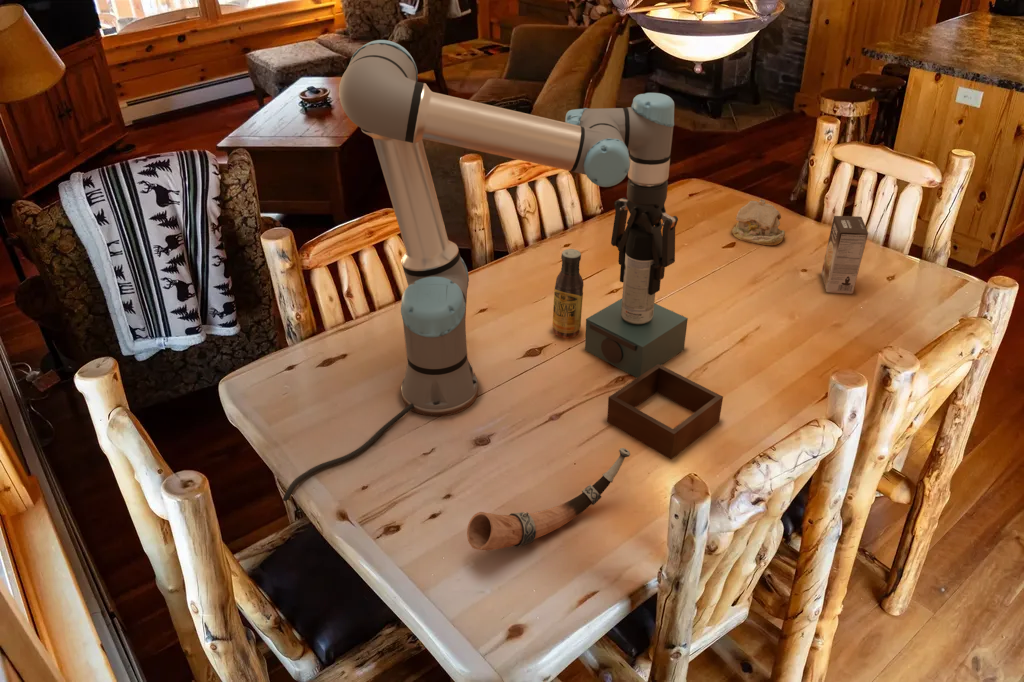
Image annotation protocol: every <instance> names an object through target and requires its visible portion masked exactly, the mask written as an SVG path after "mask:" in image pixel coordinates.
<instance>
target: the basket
mask: <svg viewBox="0 0 1024 682" xmlns="http://www.w3.org/2000/svg"><path fill="white" fill-rule="evenodd" d="M656 393H657V394H659V395H661V396H663V397H665V398H667V399H669V400H670V401H673V402H675V403H676V404H678V405H680V406H682V407H684V408H686V409H688V410H689V411H691V412H693V413H692V414H691V415H689V416H688V417H687V418H686V419H684V420H683V421H681V423H678V424H677V425H676V426H675V427H673V428H672V427H670V426H669V425H667V424H665V423H664V422H661V421H660V420H658V419H656V418H654V417H653V416H651V415H648V413H646V412H644V411H642V410H640V409H638V408H636V407H638V406H639V405H640V404H642V403H643V402H644V401H646V400H647V399H649V398H650V397H652V396H653V395H655V394H656ZM723 400H724V396H722V395H721V394H719V393H717V392H715V391H714V390H711V389H709V388H707V387H705V386H703V385H701V384H699V383H697V382H695V381H693V380H691V379H689V378H687V377H685V376H683V375H681V374H679V373H678V372H676V371H674V370H671V369H670V368H667V367H666V366H664V365H663V364H662V365H660V364H657V365H656V366H654V367H653V368H651V369H650V370H648V371H647V372H645V373H644V374H642V375H641V376H639V377H638V378H636V377H635V379H633V380H632V381H630V382H629V383H627V384H626V385H624V386H623V387H621V388H620V389H618V390H617V391H615V392H614V393H612V394H610V395H609V396H608V400H607V403H608V404H607V413H606V415H607V417H606V422H607V423H608V424H610V425H611V426H614V427H615V428H617V429H618V430H620V431H622V432H624V433H625V434H627V435H629V436H630V437H632V438H633V439H636V440H637V441H639V442H640V443H642V444H644V445H645V446H647V447H649V448H651V449H652V450H654V451H656V452H657V453H659V454H661V455H662V456H664V457H666V458H668V459H669V460H672V459H674V458H675V457H677V455H680V453H682V452H683V451H684V450H686V449H687V448H688V447H690V445H692V444H693V443H694V442H696V441H697V440H698V439H699V438H700V437H702V436H703V435H704V434H705V433H707V432H708V431H710V430H711V429H712V428H713V427H715V426H716V425H717V424H718V423H719V422H720V419H721V412H722V406H723Z"/></svg>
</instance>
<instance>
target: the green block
mask: <svg viewBox="0 0 1024 682" xmlns="http://www.w3.org/2000/svg"><path fill="white" fill-rule="evenodd" d="M621 308H622V298H620V299H618V300H617V301H615V302H612V303H611V304H609V305H608V306H605V307H604V308H602V309H600V310H599V311H597V312H595V313H593V314H591V315H590V316H589V317H586V318H585V339H584V351H586V352H587V353H589V354H591V355H593V356H594V357H597V358H599V359H601V360H602V361H604V362H605V363H608V364H610V365H612V366H614V367H615V368H617V369H620V370H621V371H622V372H625V373H627V374H629V375H631V376H632V377H634V378H635V379H636V378H638V377H639V376H641V375H642V374H644V373H645V372H647V371H648V370H650V369H651V368H653V367H654V366H656V365H657V364H660V365H662V366H663V364H665V363H667V362H668V361H669V360H671V359H672V358H674V357H676V356H677V355H678V354H680V353H682V352H684V350H685V344H686V338H687V337H686V335H687V328H688V321H689V318H688V317H686V316H684V315H681V314H679V313H677V312H675V311H673V310H670V309H668V308H666V307H664V306H662V305H660V304H657V303H655V302H654V312H653V317H652V320H651V321H649V322H647V323H644V324H632V323H628V322H626V321H625V320H623V318H622V316H621Z"/></svg>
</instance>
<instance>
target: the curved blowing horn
mask: <svg viewBox="0 0 1024 682" xmlns="http://www.w3.org/2000/svg"><path fill="white" fill-rule="evenodd" d="M618 452H619V456H618V458H617V459H616V460H615V462H614V463H613V464H612V465H611V466H610V468H609V469H608V470H607V471H606V472H604V473H602V476H601V477H600V478H599V479H598V480H596V482H595V483H593V484H588V486H586V487H585V488H584V489H583V490H581V493H579V494H578V495H577V496H575V497H573V498H572V499H570V500H568V501H566V502H563V503H561V504H558V505H556V506H554V507H551V508H548V509H544V510H541V511H536V512H531V513H529V512H526V511H525V512H524V511H521V512H511V513H510V514H496V513H490V512H485V511H479V512H476V513H475V514H474V515H473V516H472V517H471V518H470V520H469V522H468V525H467V528H466V529H467V530H466V536H467V541H468V544H469V546H470V547H471V548H472V549H474V550H477V551H493V550H499V549H504V548H509V547H516V548H517V547H518V548H519V547H522V546H525V545H528V544H531V543H532V542H534V541H535V540H536V539H538V538H540V537H543V536H545V535H547V534H550V533H552V532H554V531H555V530H558V529H559V528H561V527H563V526H565V525H567V524H568V523H569V522H571V521H573V520H574V519H576V517H578V516H580V515H581V514H582V513H583V512H585V511H586V510H587V509H589V507H590V506H594V505H596V504H597V502H598V501H599V500H600V499H601V498H602V494H603V493H604V492H605V490H607V488H608V487H609V486H610V484H611V483H613V482H614V479H615V477H616V476H617V475H618V473H619V471H620V469H621V467H622V466H623V463H624V460H625V459H626V458H628V457H630V456H631V452H630V450H629V449H627V448H625V447H619V450H618Z"/></svg>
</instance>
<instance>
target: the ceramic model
mask: <svg viewBox="0 0 1024 682" xmlns="http://www.w3.org/2000/svg"><path fill="white" fill-rule="evenodd" d="M735 217H736V218H735V220H736V221H737V222H736V224H735V226H734V227H733V228H732V230H731V232H732V236H734V238H736V239H738V240H740V241H743V242H748V243H752V244H757V245H764V246H777V245H779V244H780V243H782V242H783V240H784V238H785V235H786V231H785V230H784V229H780V228H779V226H780V225H781V222H780V220H781V219H782V214H781V212H780V211H779V210H778V209H777V208H776V207H775V206H774V205H772V204H769V203H766V200H765V199H760V200H759V201H757V200H749V201H748V203H746V204H745V205H743V206H741V208H739V209H738V211H737V214H736V215H735Z"/></svg>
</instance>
